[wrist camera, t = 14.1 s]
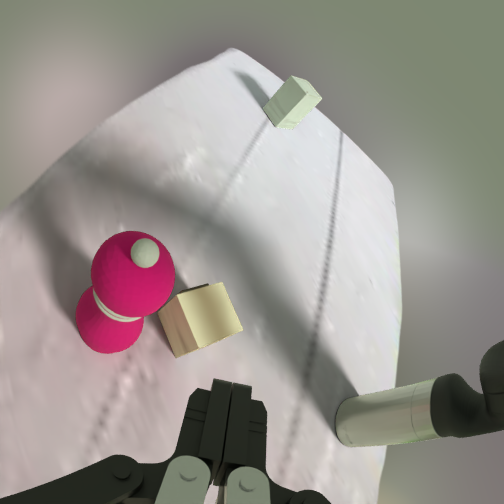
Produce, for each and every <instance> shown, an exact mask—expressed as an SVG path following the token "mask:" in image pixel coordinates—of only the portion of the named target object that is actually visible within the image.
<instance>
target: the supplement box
mask: <svg viewBox="0 0 504 504" xmlns="http://www.w3.org/2000/svg"><path fill="white" fill-rule="evenodd" d="M320 100H322V97H321V96H320V95H319V94H318V93H317V91H315V89H314V88H313V87H312V85H311V84H310V83H309V82H308V81H307V80H304V79H301V78H298V77H295V76H290V77H289V78H288V79H287V81H286V82H285V83H284V84H283V85H282V86H281V87H280V89H279V90H278V91H277V92H276V93H275V94H274V96H273V97H272V98H271V99H270V100H269V102H268V103H267V104H266V105H265V106H264V108H263V110H264V111H265V113H266V114H267V115H268V117H269V118H270V120H271V121H272V123H273V124H274V125H275V127H277V128H285V129H294V128H295V126H296V125H297V124H298V123H299V122H300V121H301V120H302V119H303V118H304V117H305V116H306V115H307V114H308V113H309V112H310V111H311V110H312V109H313V108H314V107H315V106H316V105H317V104H318V103H319V102H320Z"/></svg>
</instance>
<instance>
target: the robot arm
mask: <svg viewBox="0 0 504 504" xmlns="http://www.w3.org/2000/svg"><path fill="white" fill-rule="evenodd" d="M480 381H481V386H482V390H483V394H480V393H478V392H476V391H475V390H473V389H472V388H471V387H470V386H469V385H468V384H467V383H466V382H465V381H464V379H463V378H462V377H461V376H460V375H458V374H455V373H453V374H447V375H444V376H441V377H438V378H434V379H430V380H427V381H423V382H420V383H416V384H412V385H408V386H404V387H398V388H394V389H389V390H385V391H380V392H375V393H370V394H365V395H360V396H357V397H352V398H348V399H346V400H345V401H344V402H342V404H341V405H340V407H339V409H338V411H337V415H336V421H335V425H336V433H337V435H338V438H339V439H340V441H341V442H342V443H343V444H344V445H345V446H348V447H365V446H381V445H393V444H402V443H411V442H418V441H425V440H431V439H436V438H443V437H448V436H453V437H458V438H464V437H471V436H476V435H481V434H486V433H492V432H496V431H501V430H504V340H503V341H501V342H499V343H497V344H495V345H494V346H492V347H491V348H490V349H489V350H488V351H487V352H486V354H485V355H484V356H483V359H482V360H481V364H480ZM251 393H252V386H248V385H243V384H238V383H233V384H232V382H228V381H224V380H219V379H215V378H214V379H213V383H212V387H211V391H208V390H204V389H200V388H197V389H196V390H195V391H194V392H193V393H192V394H191V395H190V397H189V400H188V404H187V408H186V412H185V415H184V419H183V423H182V427H181V431H180V434H179V438H178V442H177V446H176V450H175V452H174V454H173V455H172V456H171V457H170V458H169V459H168V460H166V461H164V462H161V463H154V464H150V463H138V462H137V461H135V460H134V459H132V458H131V457H128V456H125V455H113V456H110V457H108V458H105V459H103V460H101V461H99V462H97V463H94V464H92V465H90V466H88V467H85V468H83V469H81V470H78V471H76V472H74V473H71V474H69V475H66V476H64V477H61V478H59V479H56V480H54V481H51V482H48V483H46V484H43V485H40V486H37V487H35V488H32V489H29V490H26V491H23V492H20V493H17V494H14V495H10V496H7V497H4V498H0V504H204V500H205V496H206V493H207V491H208V488H209V486H210V485H211V484H212V481H213V479H214V481H213V485H215V486H219V491H218V497H217V499H216V502H215V504H331V503H330V502H329V501H328V500H327V499H326V498H325V497H324V496H323V495H322V494H321V493H319V492H317V491H314V490H302V491H299V492H295V491H292V490H289V489H286V488H284V487H281V486H279V485H277V484H276V483H274V482H273V481H272V480H271V479H270V478H269V476H268V474H267V472H266V437H267V435H266V433H267V426H266V425H267V411H266V409H265V406H264V404H263V402H262V401H258V400H252V399H251Z"/></svg>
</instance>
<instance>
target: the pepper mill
mask: <svg viewBox="0 0 504 504" xmlns="http://www.w3.org/2000/svg"><path fill="white" fill-rule="evenodd" d="M91 279H92V284H93V286H91V287H90V288H88V289H87V290H86V291H85V292H84V293H83V295H82V296H81V298H80V300H79V302H78V305H77V309H76V323H77V327H78V329H79V332H80V335H81V337H82V339H83V340H84V342H85V343H86V344H87V345H88V346H89V347H90V348H91V349H93V350H94V351H97V352H100V353H107V354H108V353H114V352H120V351H123V350H125V349H127V348H129V347H130V346H131V345H133V344H134V342H135V341H136V340H137V339H138V337H139V335H140V333H141V331H142V328H143V323H144V316H147V315H150V314H152V313H154V312H156V311H157V310H158V309H159V308H160V307H162V306H163V305H164V304H165V302H166V301H167V300H168V298H169V296H170V294H171V292H172V290H173V286H174V281H175V268H174V264H173V261H172V258H171V256H170V253H169V252H168V250H167V249H166V247H165V246H164V245H163V244H162V243H161V242H160V241H159V240H157V239H156V238H154V237H153V236H151V235H148V234H146V233H143V232H138V231H126V232H122V233H118V234H115V235H113V236H112V237H110V238H109V239H108V240H106V241H105V242H104V243H103V244H102V245H101V246H100V248H99V250H98V251H97V253H96V255H95V257H94V259H93V263H92V268H91Z"/></svg>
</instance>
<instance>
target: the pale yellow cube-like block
mask: <svg viewBox="0 0 504 504" xmlns="http://www.w3.org/2000/svg"><path fill="white" fill-rule="evenodd" d="M158 316H159V318H160V321H161V323H162V326H163V328H164V331H165V333H166V336H167V338H168V341H169V343H170V345H171V348H172V350H173V352H174V355H175V357H176V358H178V357H180V356H183V355H186V354H188V353H191V352H193V351H196V350H198V349H201V348H203V347H206V346H208V345H211V344H213V343H215V342H218V341H220V340H222V339H225V338H227V337H229V336H231V335H234V334H236V333H238V332H240V331H243V328H242V325H241V323H240V321H239V319H238V317H237V314H236V312H235V310H234V308H233V305H232V303H231V301H230V299H229V296H228V294H227V292H226V289H225V287H224V285H223V283H222V282H220V283H216V284H213V285H209V284H204V285H200V286H197V287H193V288H190V289H186V290H182V291H181V292H179V293H178V294H177V295H176V296H175V297H174V298H173V299H172V300H170V301H169V302H168V303H167V304H166V305H165V306H164V307H163V308H162V309H161V310H160V311H159V312H158Z"/></svg>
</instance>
